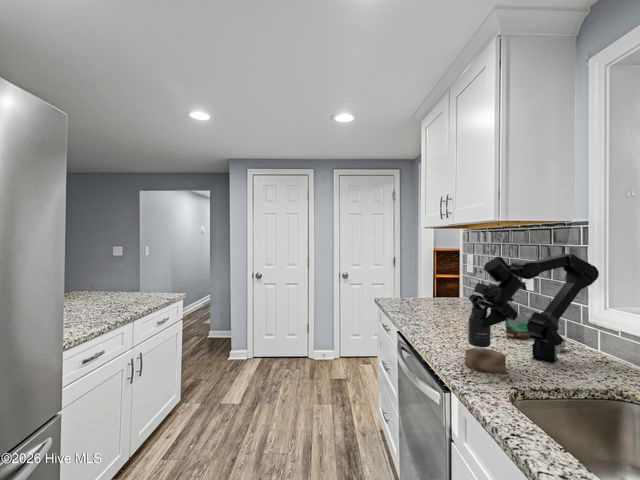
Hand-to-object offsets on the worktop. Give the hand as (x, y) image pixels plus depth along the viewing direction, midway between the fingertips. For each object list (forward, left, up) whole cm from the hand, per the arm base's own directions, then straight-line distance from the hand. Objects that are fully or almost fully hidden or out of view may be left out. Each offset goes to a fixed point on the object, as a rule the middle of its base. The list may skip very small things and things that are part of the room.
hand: (475, 324), depth 115 cm
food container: (-1, -45, -13) cm, 47 cm away
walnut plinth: (-3, -1, -13) cm, 14 cm away
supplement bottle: (-1, -1, -7) cm, 7 cm away
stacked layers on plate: (-15, -36, -14) cm, 42 cm away
